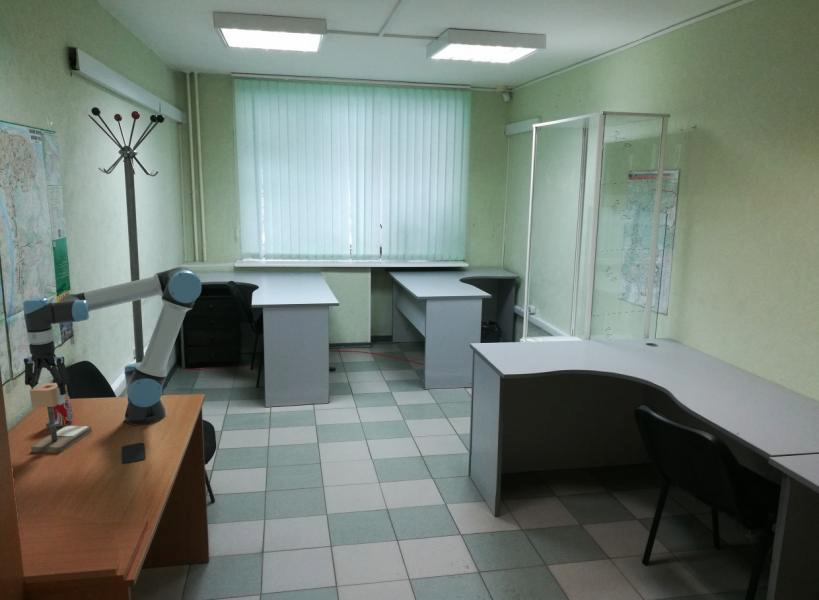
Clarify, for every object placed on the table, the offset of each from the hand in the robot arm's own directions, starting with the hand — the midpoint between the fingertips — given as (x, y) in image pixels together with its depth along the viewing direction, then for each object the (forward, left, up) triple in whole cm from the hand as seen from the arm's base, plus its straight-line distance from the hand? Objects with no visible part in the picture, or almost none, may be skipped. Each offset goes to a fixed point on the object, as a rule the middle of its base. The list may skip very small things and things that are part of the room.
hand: (50, 403), depth 213 cm
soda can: (+11, -20, -17) cm, 28 cm away
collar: (0, 0, 0) cm, 0 cm away
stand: (0, -4, -16) cm, 17 cm away
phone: (-32, +4, -17) cm, 36 cm away
